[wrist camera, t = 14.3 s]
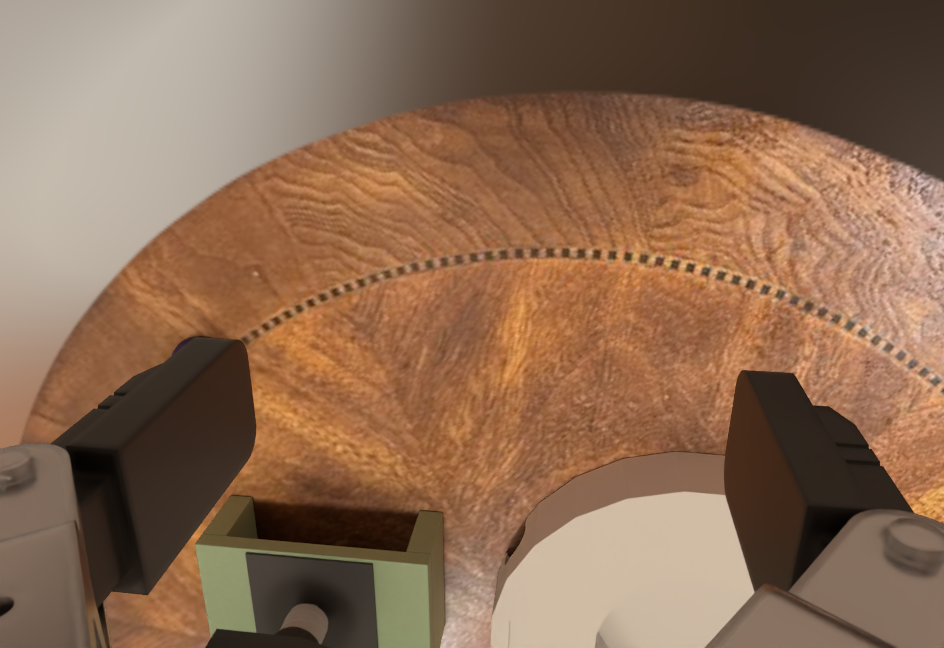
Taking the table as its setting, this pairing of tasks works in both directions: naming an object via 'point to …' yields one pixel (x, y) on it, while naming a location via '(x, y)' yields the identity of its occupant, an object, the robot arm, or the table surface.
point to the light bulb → (305, 623)
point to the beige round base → (626, 560)
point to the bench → (324, 583)
